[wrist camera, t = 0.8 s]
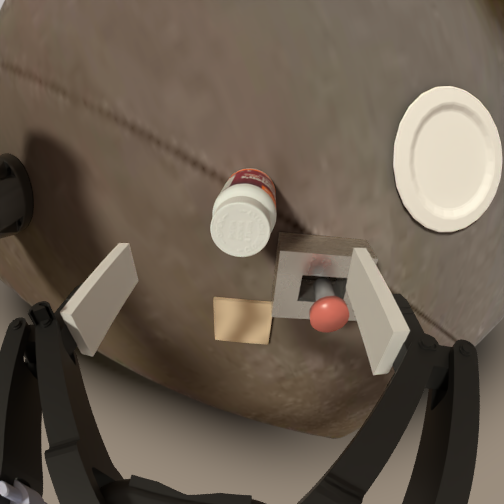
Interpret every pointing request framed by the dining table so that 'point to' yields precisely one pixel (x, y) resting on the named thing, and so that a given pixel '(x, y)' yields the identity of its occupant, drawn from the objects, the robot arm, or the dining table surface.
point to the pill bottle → (244, 213)
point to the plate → (447, 159)
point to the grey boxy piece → (310, 271)
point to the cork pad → (242, 320)
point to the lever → (327, 308)
